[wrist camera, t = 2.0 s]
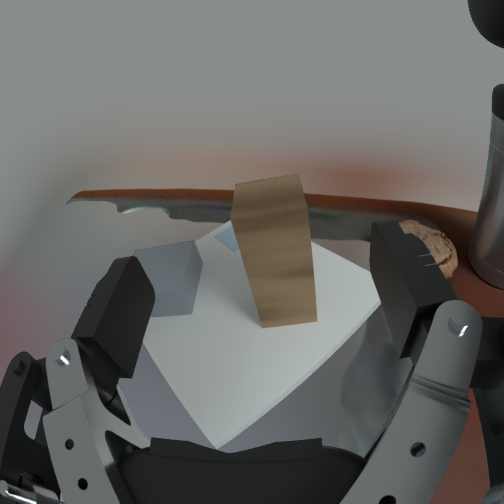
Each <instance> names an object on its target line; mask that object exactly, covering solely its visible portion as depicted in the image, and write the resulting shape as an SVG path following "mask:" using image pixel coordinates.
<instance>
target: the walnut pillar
mask: <svg viewBox="0 0 504 504" xmlns="http://www.w3.org/2000/svg"><path fill="white" fill-rule="evenodd" d="M230 219H231V223H232V226H233V230H234V233H235V236H236V240H237V243H238V247H239V250H240V253H241V257H242V260H243V264H244V267H245V270H246V274H247V277H248V280H249V284H250V287H251V290H252V294H253V297H254V300H255V304H256V307H257V310H258V314H259V317H260V320H261V324H262V327H263V328H271V327H279V326H288V325H296V324H303V323H311V322H317V306H316V292H315V279H314V268H313V257H312V246H311V236H310V227H309V218H308V209H307V204H306V200H305V196H304V192H303V189H302V185H301V181H300V178H299V174H294V175H288V176H281V177H275V178H269V179H262V180H256V181H251V182H245V183H239V184H236V185H235V191H234V197H233V203H232V209H231V215H230Z"/></svg>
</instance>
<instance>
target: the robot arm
mask: <svg viewBox="0 0 504 504" xmlns="http://www.w3.org/2000/svg"><path fill="white" fill-rule="evenodd" d="M468 5H469V11H470V15H471V18H472V20H473V22H474V24H475V26H476V28H477V29H478V31H479V32H480V34H481V35H482V36H483V37H484V38H485V39H487V40H488V41H489V42H491V43H493V44H494V45H496V46H499V47H501V48H504V0H468ZM491 120H492V121H491V133H490V145H489V155H488V161H487V169H486V175H485V181H484V186H483V192H482V197H481V201H480V206H479V211H478V215H477V219H476V223H475V227H474V231H473V234H472V238H471V242H470V245H469V248H468V259H469V262H470V264H471V266H472V268H473V269H474V271H475V272H476V273H477V274H478V275H479V276H480V277H481V278H482V279H483V280H485V281H486V282H488V283H489V284H491V285H493V286H496V287H498V288H502V289H504V84H499V85H497V86H496V87H495V88H494V89H493V93H492V119H491ZM369 261H370V271H371V276H372V279H373V282H374V284H375V287H376V290H377V293H378V295H379V298H380V301H381V304H382V307H383V310H384V312H385V315H386V318H387V321H388V324H389V328H390V331H391V334H392V337H393V340H394V343H395V347H396V350H397V353H398V357H399V359H401V358H405V357H409V356H410V357H411V360H412V364H413V366H412V368H411V370H410V372H409V375H408V377H407V379H406V381H405V384H404V386H403V388H402V390H401V392H400V394H399V396H398V398H397V400H396V402H395V404H394V406H393V408H392V410H391V412H390V414H389V416H388V418H387V420H386V422H385V423H384V425H383V427H382V428H381V430H380V432H379V433H378V435H377V437H376V438H375V440H374V442H373V443H372V445H371V447H370V448H369V450H368V452H367V453H366V455H365V457H364V458H362V457H361V456H359V455H357V454H355V453H352V452H350V451H347V450H344V449H341V448H336V447H331V446H323V445H322V439H321V438H316V439H307V440H297V441H284V442H274V443H271V444H267V445H264V446H260V447H256V448H252V449H248V450H244V451H240V452H235V453H225V452H221V451H218V450H215V449H211V448H208V447H205V446H201V445H198V444H195V443H192V442H189V441H181V440H170V439H161V438H154V437H152V438H151V442H150V441H149V439H148V438H147V437H146V436H145V435H144V434H143V433H142V432H141V430H140V429H139V427H138V425H137V423H136V421H135V419H134V416H133V414H132V412H131V410H130V407H129V405H128V403H127V400H126V398H125V396H124V393H123V391H122V389H121V387H120V386H119V385H118V380H119V378H132V376H133V373H134V369H135V366H136V362H137V359H138V355H139V351H140V348H141V345H142V342H143V338H144V335H145V332H146V329H147V326H148V322H149V319H150V316H151V313H152V310H153V307H154V304H155V291H154V288H153V285H152V284H151V282H150V280H149V278H148V276H147V274H146V273H145V271H144V269H143V267H142V265H141V263H140V261H139V260H138V258H137V257H135V256H130V257H124V258H118V259H115V260H114V261H113V263H112V265H111V267H110V268H109V270H108V272H107V274H106V275H105V276H104V277H103V278H102V279H101V280H100V281H99V282H98V284H97V285H96V287H95V289H94V291H93V293H92V295H91V296H92V297H90V299H89V300H88V302H87V306H85V308H84V310H83V312H82V315H81V317H80V319H79V321H78V323H77V325H76V327H75V330H74V332H73V334H72V336H71V338H66V339H62V340H60V341H59V342H57V343H56V344H55V345H54V346H53V347H52V348H51V350H50V351H49V353H48V355H47V357H46V358H43V359H39V360H35V359H34V358H33V357H32V356H31V355H30V354H29V353H28V352H20V353H18V354H17V355H16V356H15V357H14V358H13V359H12V361H11V362H10V364H9V366H8V368H7V371H6V373H5V376H4V379H3V381H2V384H1V387H0V504H429V502H430V501H431V499H432V497H433V495H434V493H435V491H436V490H437V488H438V486H439V484H440V482H441V480H442V478H443V476H444V474H445V472H446V470H447V467H448V465H449V463H450V461H451V459H452V456H453V454H454V452H455V449H456V447H457V444H458V442H459V439H460V437H461V434H462V431H463V429H464V426H465V423H466V420H467V417H468V414H469V410H470V401H469V400H467V393H468V389H469V388H473V392H474V396H475V400H476V404H477V408H478V412H479V417H480V421H481V426H482V431H483V436H484V442H485V448H486V454H487V461H488V469H489V478H490V489H489V491H488V492H487V493H486V494H485V496H484V498H483V500H482V502H481V503H480V504H504V318H495V317H482V316H480V315H479V313H478V312H477V310H476V309H475V308H474V307H472V306H471V305H469V304H468V303H466V302H463V301H458V299H457V297H456V296H455V294H454V292H453V290H452V288H451V286H450V285H449V283H448V281H447V279H446V278H445V276H444V274H443V272H442V271H441V269H440V267H439V266H438V265H437V264H436V261H435V259H434V257H433V256H432V255H431V253H430V251H429V249H428V248H427V246H426V245H425V243H424V242H423V241H422V240H421V239H419V238H418V237H417V236H415V235H414V234H413V233H407V234H405V233H404V231H403V230H402V228H401V227H400V225H399V223H398V222H397V221H396V220H395V219H393V220H385V221H377V222H373V223H372V228H371V245H370V260H369ZM31 400H32V401H34V402H35V403H36V404H38V405H39V406H41V407H42V408H43V411H42V414H41V418H40V421H39V425H38V429H37V433H36V437H35V439H34V440H33V439H31V438H29V437H28V436H27V435H26V433H25V431H24V422H25V419H26V416H27V412H28V409H29V405H30V402H31ZM21 474H22V475H21ZM60 493H62V496H63V498H64V501H65V503H63V502H60Z"/></svg>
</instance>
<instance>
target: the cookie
mask: <svg viewBox="0 0 504 504" xmlns="http://www.w3.org/2000/svg"><path fill="white" fill-rule="evenodd" d="M399 225H400V227H401V228H402V230H403V231H404V233H405V234H407V233H413V234H414V235H415V236H417V237H418V238H419V239H421V240H422V241H423V242H424V243H425V245H426V246H427V248H428V249H429V251H430V253H431V255H432V256H433V257H434V259H435V261H436V264H437V265H438V266H439V267H440V269H441V271H442V272H443V274H444V276H445V278H446V279H447V278H451V277H452V275H453V271H454V270H455V269H456V268H457V266H458V259H457V253H456V249H455V247H454V245H453V243H452V242H451V241H450V239H448V238H446V236H445V233H442V232H440V231H438V230H436V229H432V228H429V227H426V226H424V225H421V224H419V222H418V221H415V220H405V221H403V222H401V223H399Z"/></svg>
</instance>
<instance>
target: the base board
mask: <svg viewBox="0 0 504 504" xmlns="http://www.w3.org/2000/svg"><path fill="white" fill-rule="evenodd" d="M311 246H312V257H313V268H314V279H315V292H316V306H317V322H311V323H303V324H296V325H288V326H279V327H271V328H263V327H262V324H261V320H260V317H259V314H258V310H257V307H256V304H255V300H254V297H253V294H252V290H251V287H250V284H249V280H248V277H247V274H246V270H245V267H244V264H243V260H242V257H241V253H240V250H239V247H238V243H237V240H236V236H235V233H234V230H233V226H232V223H231V220H230V221H228V222H226V223H225V224H223V225H222V226H220V227H218V228H216V229H215V230H213V231H211V232H210V233H208V234H206V235H205V236H203V237H202V238H200V239H198V240H196V241H195V242H194V241H188V242H182V243H176V244H171V245H164V246H158V247H153V248H147V249H141V250H135V252H134V254H133V256H135V257H137V258H138V260H139V261H140V263H141V265H142V267H143V269H144V271H145V273H146V274H147V276H148V278H149V280H150V282H151V284H152V285H153V288H154V291H155V304H154V307H153V310H152V313H151V316H150V319H149V322H148V326H147V329H146V332H145V335H144V338H143V344H144V346H145V347H146V349H147V350H148V352H149V354H150V355H151V357H152V359H153V361H154V362H155V364H156V365H157V367H158V369H159V370H160V372H161V373H162V375H163V377H164V378H165V379H166V381H167V383H168V384H169V386H170V387H171V389H172V390H173V392H174V393H175V395H176V396H177V398H178V399H179V401H180V402H181V403H182V405H183V406H184V408H185V409H186V410H187V412H188V413H189V415H190V416H191V418H192V419H193V420H194V422H195V423H196V424H197V426H198V427H199V428H200V430H201V431H202V432H203V434H204V435H205V436H206V437H207V439H208V440H209V441H210V443H211V444H212V445H213V446H214V447H215V448H217V449H218V448H220V447H221V446H223V445H224V444H226V443H227V442H228V441H230V440H231V439H233V438H234V437H235V436H237V435H238V434H239V433H241V432H242V431H243V430H245V429H246V428H247V427H249V426H250V425H251V424H253V423H254V422H255V421H257V420H258V419H259V418H260V417H262V416H263V415H264V414H265V413H267V412H268V411H269V410H270V409H272V408H273V407H274V406H275V405H276V404H278V403H279V402H280V401H281V400H282V399H284V398H285V397H286V396H287V395H288V394H290V393H291V392H292V391H293V390H294V389H295V388H296V387H298V386H299V385H300V384H301V383H302V382H303V381H304V380H306V379H307V378H308V377H309V376H310V375H311V374H312V373H313V372H314V371H315V370H317V369H318V367H320V366H321V365H322V364H323V363H324V362H325V361H326V360H327V359H328V358H329V357H330V356H331V355H332V354H333V353H334V352H335V351H336V350H337V349H338V348H339V347H340V346H341V345H342V344H343V343H344V342H345V341H346V340H347V339H348V338H349V337H350V336H351V335H352V334H353V333H354V332H355V331H356V330H357V329H358V328H359V327H360V326H361V325H362V324H363V323H364V322H365V321H366V320H367V318H368V317H369V316H370V315H371V314H372V313H373V312H374V311H375V310H376V309H377V307H378V306H379V305H380V304H381V301H380V298H379V295H378V293H377V290H376V287H375V284H374V282H373V279H372V276H371V272H369V271H367V270H365V269H363V268H361V267H359V266H358V265H356V264H354V263H352V262H350V261H348V260H346V259H344V258H342V257H340V256H338V255H337V254H334V253H332V252H331V251H329V250H327V249H325V248H323V247H321V246H319V245H317V244H315V243H313V242H311Z"/></svg>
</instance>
